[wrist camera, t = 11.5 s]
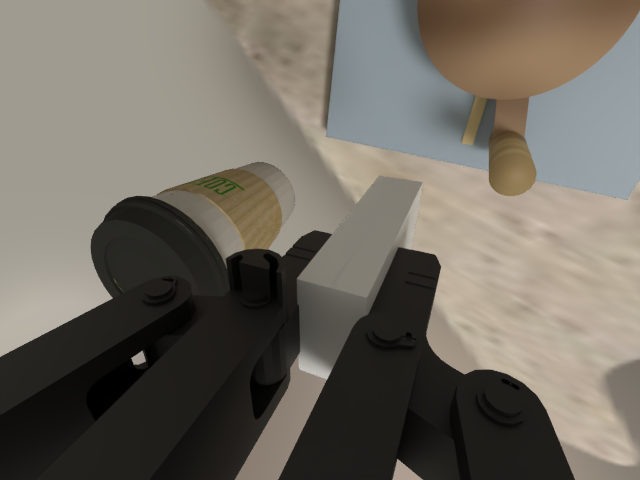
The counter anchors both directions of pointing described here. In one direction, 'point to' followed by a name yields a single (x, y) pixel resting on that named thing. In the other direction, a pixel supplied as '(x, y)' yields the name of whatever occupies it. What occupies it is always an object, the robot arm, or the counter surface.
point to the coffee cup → (192, 229)
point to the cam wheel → (518, 60)
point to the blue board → (481, 104)
